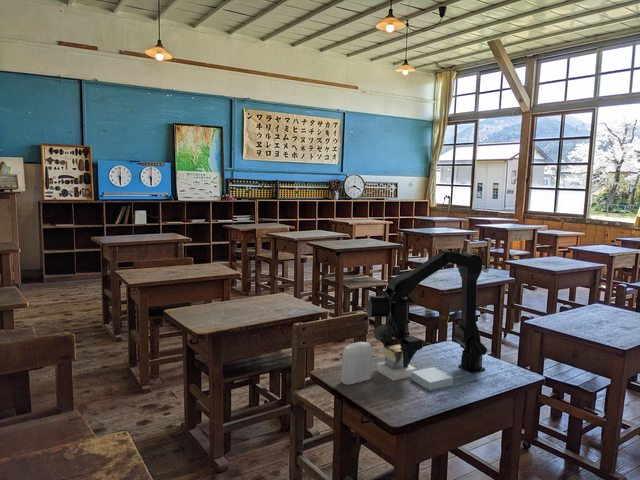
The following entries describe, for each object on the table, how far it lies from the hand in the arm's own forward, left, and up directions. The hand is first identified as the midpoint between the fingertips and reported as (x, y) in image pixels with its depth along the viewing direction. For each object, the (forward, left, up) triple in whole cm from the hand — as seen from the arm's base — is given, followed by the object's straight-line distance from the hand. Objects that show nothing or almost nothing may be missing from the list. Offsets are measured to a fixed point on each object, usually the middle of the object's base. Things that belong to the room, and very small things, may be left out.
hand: (396, 362), depth 159 cm
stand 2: (-6, +10, -4) cm, 13 cm away
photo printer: (+15, -1, -4) cm, 16 cm away
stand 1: (0, 0, -4) cm, 4 cm away
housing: (0, 0, -1) cm, 1 cm away
